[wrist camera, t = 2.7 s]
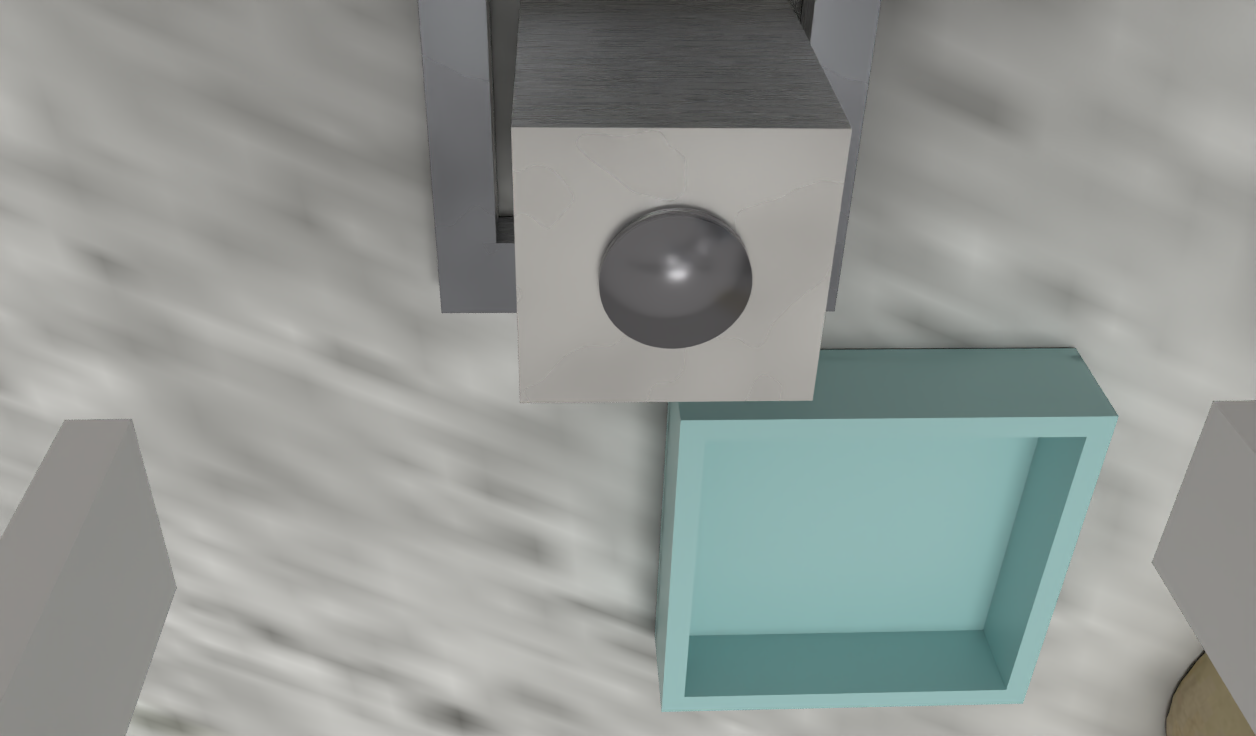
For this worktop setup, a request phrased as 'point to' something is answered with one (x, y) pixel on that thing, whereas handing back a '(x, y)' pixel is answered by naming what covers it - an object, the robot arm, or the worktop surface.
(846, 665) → the parts tray
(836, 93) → the grey slotted plate
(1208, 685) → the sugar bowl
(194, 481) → the worktop surface
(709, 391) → the steel cube with knob
